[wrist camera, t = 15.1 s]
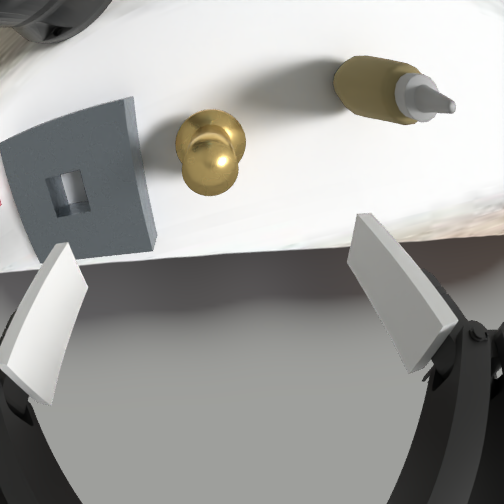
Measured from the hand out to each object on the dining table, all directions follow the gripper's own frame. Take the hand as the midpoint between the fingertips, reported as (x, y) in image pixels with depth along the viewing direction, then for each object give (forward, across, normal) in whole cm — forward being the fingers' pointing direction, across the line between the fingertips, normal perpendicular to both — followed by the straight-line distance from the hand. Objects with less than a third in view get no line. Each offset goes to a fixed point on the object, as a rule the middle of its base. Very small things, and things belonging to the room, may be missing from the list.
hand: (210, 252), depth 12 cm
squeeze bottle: (+25, +18, +7) cm, 32 cm away
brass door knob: (+25, 0, 0) cm, 25 cm away
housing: (+25, -19, -4) cm, 31 cm away
